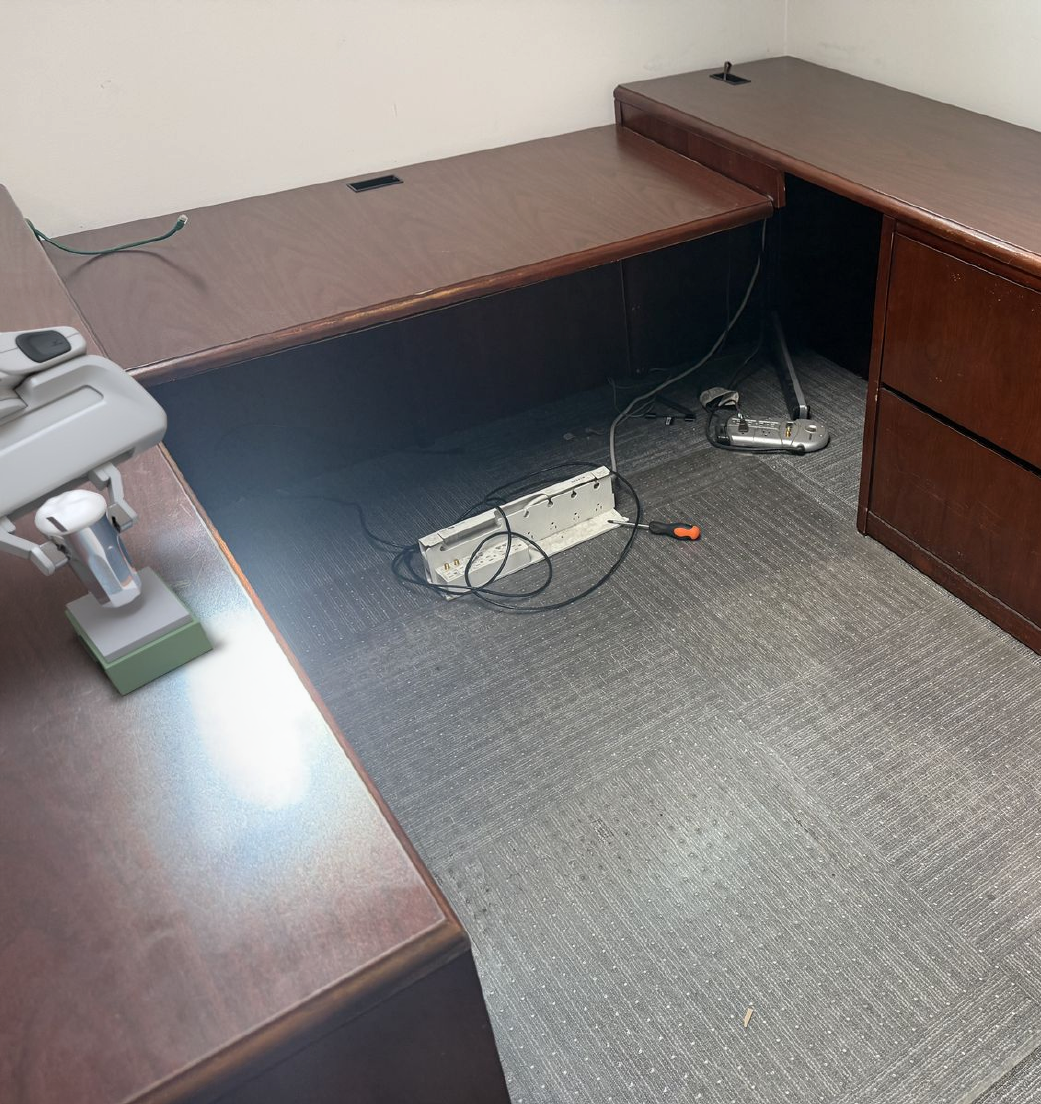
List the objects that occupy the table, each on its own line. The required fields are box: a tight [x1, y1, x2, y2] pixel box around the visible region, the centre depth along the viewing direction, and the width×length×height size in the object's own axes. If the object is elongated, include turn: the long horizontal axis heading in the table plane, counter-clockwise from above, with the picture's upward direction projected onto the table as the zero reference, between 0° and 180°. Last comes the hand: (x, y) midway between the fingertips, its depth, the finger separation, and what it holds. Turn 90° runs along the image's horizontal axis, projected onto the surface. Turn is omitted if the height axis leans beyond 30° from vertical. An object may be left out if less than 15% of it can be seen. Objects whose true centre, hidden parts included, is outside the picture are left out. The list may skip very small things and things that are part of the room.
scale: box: [64, 565, 214, 696], centre depth 79 cm, size 7×9×4 cm
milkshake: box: [34, 489, 142, 608], centre depth 74 cm, size 4×5×10 cm
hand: (95, 546), depth 74 cm, fingers closed on milkshake, 4 cm apart
